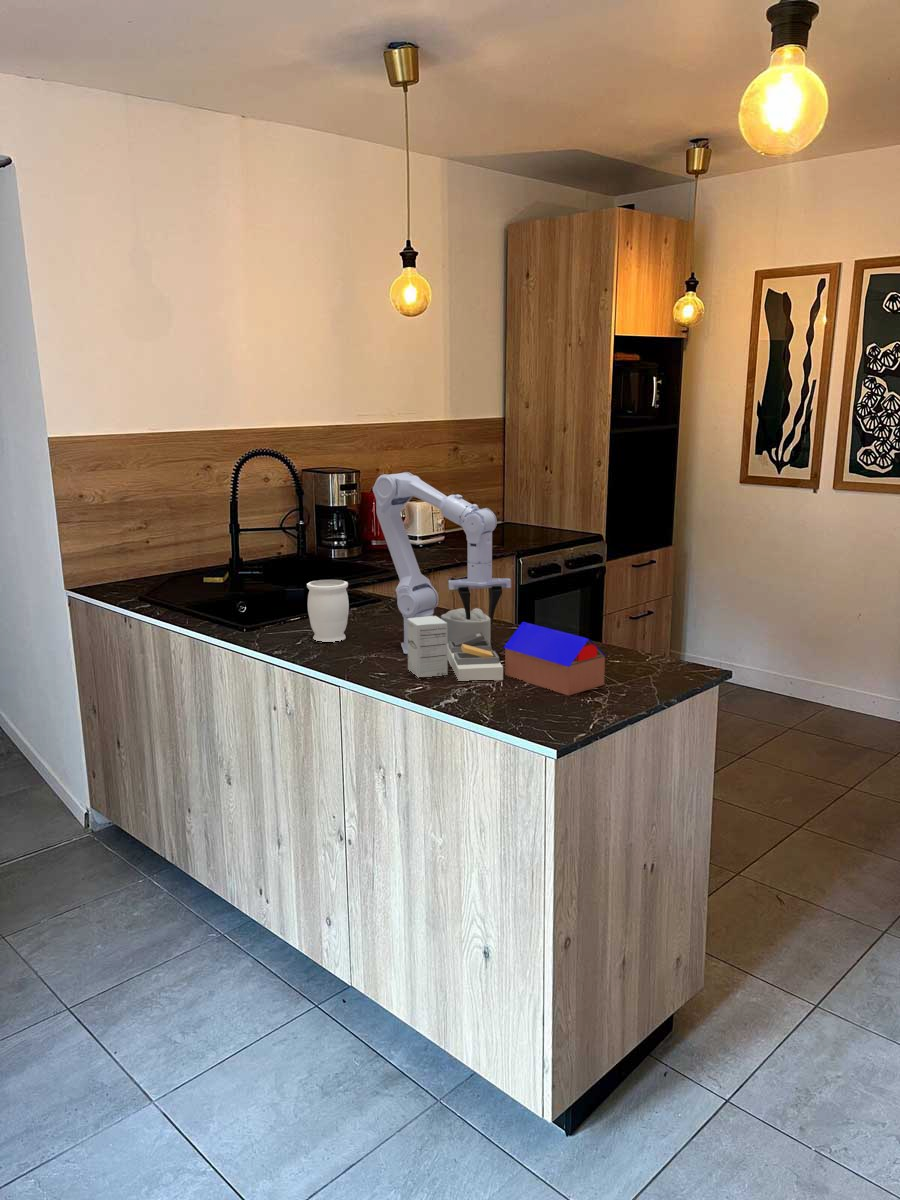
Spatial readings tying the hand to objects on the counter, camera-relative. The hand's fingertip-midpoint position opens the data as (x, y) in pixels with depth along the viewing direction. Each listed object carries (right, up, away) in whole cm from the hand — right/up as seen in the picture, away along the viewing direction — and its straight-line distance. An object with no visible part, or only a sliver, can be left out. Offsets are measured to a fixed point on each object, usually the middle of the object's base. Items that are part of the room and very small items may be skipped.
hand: (479, 618), depth 217 cm
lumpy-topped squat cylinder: (-2, -7, +18) cm, 19 cm away
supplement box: (-12, -13, -8) cm, 19 cm away
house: (+16, -14, -13) cm, 25 cm away
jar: (-38, -6, +23) cm, 45 cm away
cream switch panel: (-2, -11, -3) cm, 12 cm away
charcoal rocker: (-2, -6, +1) cm, 6 cm away
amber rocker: (-1, -8, -9) cm, 12 cm away
